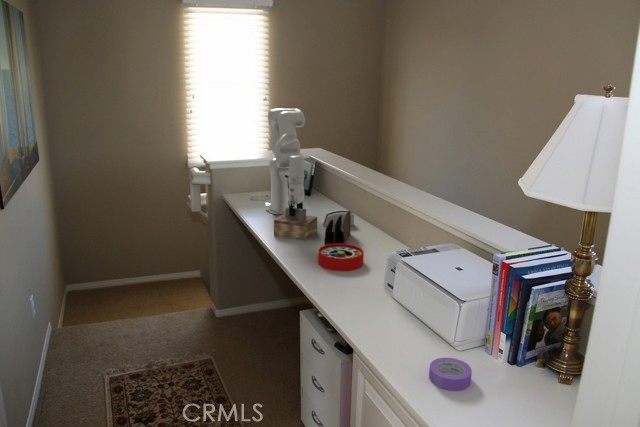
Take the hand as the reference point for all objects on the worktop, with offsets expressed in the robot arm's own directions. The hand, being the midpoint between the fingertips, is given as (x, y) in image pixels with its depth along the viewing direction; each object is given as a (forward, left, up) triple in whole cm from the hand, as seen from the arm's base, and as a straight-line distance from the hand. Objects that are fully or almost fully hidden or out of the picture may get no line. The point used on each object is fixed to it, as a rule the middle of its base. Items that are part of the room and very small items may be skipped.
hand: (296, 213), depth 282 cm
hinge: (+15, +24, -11) cm, 30 cm away
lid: (0, 0, -4) cm, 4 cm away
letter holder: (+22, +1, -11) cm, 25 cm away
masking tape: (+92, -105, -12) cm, 140 cm away
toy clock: (+34, -29, -12) cm, 46 cm away
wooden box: (0, 0, -11) cm, 11 cm away
